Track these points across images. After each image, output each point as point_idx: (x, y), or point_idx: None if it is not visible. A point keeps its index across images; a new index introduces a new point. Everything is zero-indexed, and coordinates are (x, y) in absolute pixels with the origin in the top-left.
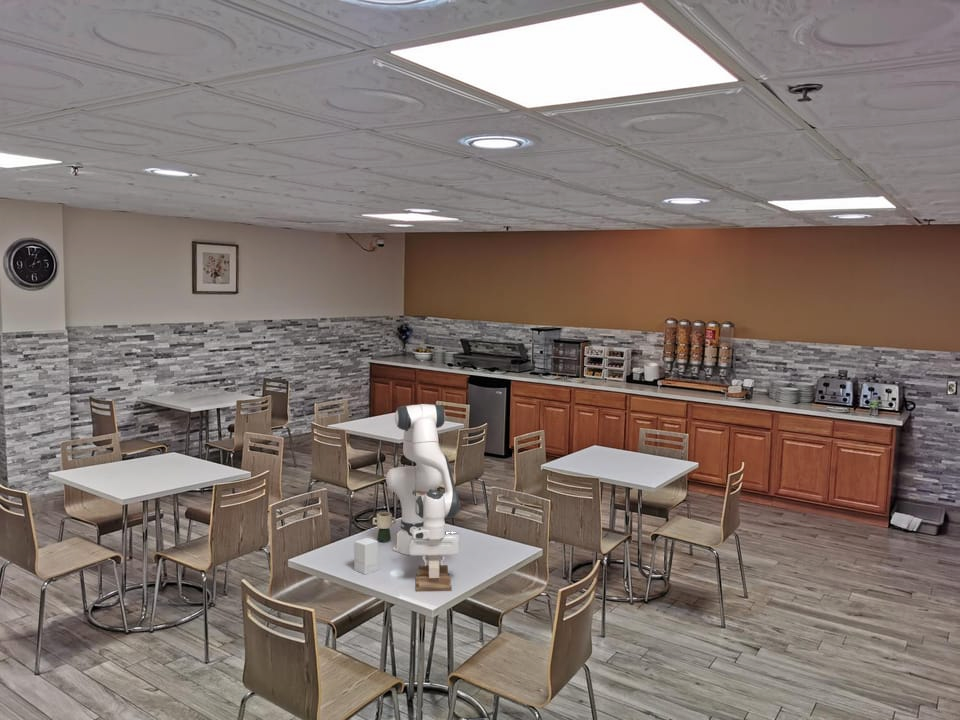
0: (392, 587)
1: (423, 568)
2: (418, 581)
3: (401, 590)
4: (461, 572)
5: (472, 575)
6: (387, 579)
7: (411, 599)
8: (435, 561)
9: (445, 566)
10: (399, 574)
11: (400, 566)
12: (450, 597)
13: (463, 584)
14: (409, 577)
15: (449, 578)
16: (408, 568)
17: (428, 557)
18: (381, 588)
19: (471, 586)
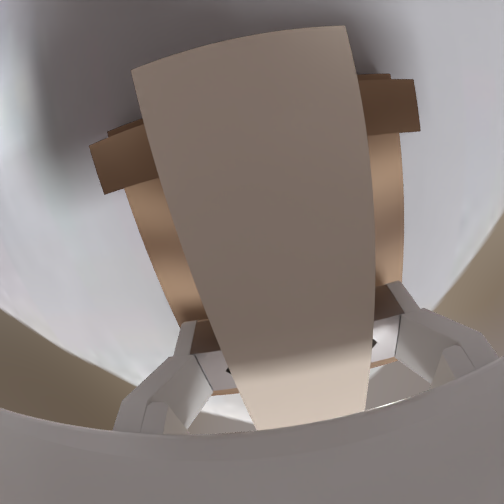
0: (68, 311)
1: (155, 176)
2: (170, 268)
3: (122, 339)
4: (438, 12)
5: (495, 72)
6: (2, 219)
7: (206, 403)
8: (329, 379)
9: (398, 119)
10: (19, 125)
11: (8, 12)
12: (376, 367)
13: (459, 213)
14: (80, 151)
15: (396, 177)
16: (47, 11)
17: (187, 262)
18: (40, 323)
19: (485, 235)
